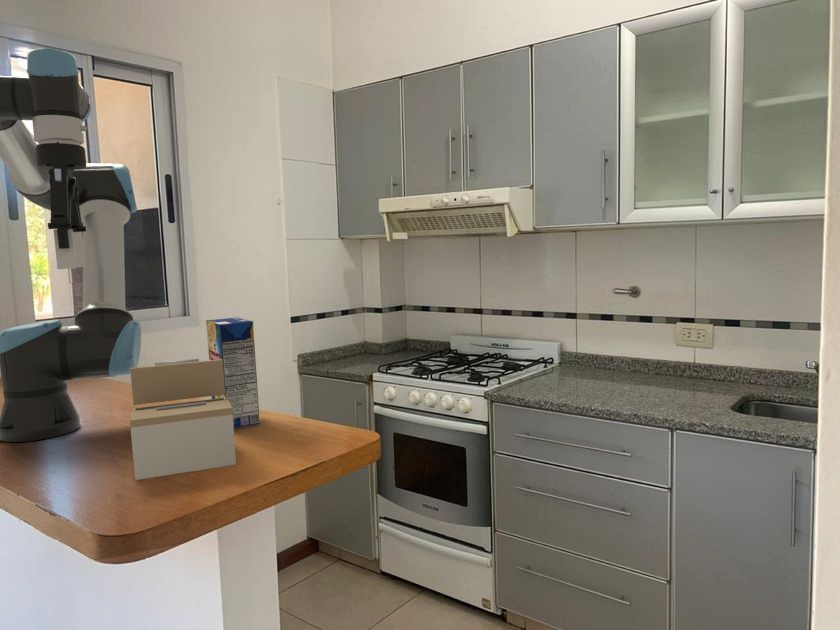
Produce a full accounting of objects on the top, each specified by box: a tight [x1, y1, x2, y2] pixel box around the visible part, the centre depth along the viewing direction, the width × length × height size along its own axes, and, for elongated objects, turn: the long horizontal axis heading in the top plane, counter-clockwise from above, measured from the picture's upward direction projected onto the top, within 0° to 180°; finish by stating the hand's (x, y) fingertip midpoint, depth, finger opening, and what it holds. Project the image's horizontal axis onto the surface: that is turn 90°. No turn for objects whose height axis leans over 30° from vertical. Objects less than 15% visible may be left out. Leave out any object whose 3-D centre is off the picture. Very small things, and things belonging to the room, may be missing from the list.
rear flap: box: [130, 358, 225, 406], centre depth 123 cm, size 7×16×8 cm
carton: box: [129, 398, 237, 481], centre depth 114 cm, size 14×16×10 cm
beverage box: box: [205, 316, 261, 430], centre depth 138 cm, size 7×11×22 cm, turn 33°
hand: (72, 268), depth 114 cm, fingers open, 13 cm apart
